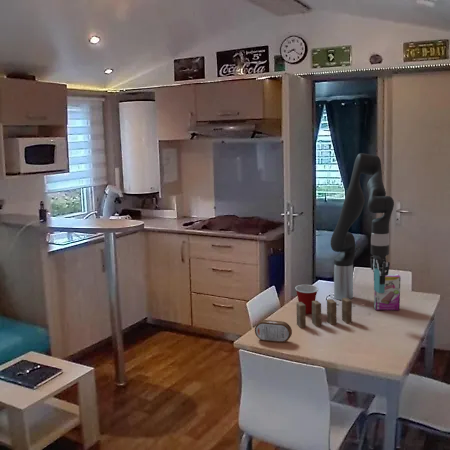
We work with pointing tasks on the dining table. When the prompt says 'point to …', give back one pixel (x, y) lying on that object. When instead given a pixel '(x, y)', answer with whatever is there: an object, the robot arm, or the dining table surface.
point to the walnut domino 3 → (331, 312)
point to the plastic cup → (306, 295)
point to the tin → (273, 331)
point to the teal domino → (378, 282)
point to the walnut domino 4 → (346, 310)
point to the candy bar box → (389, 294)
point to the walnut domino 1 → (301, 314)
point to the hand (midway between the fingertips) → (379, 282)
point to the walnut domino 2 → (316, 313)
